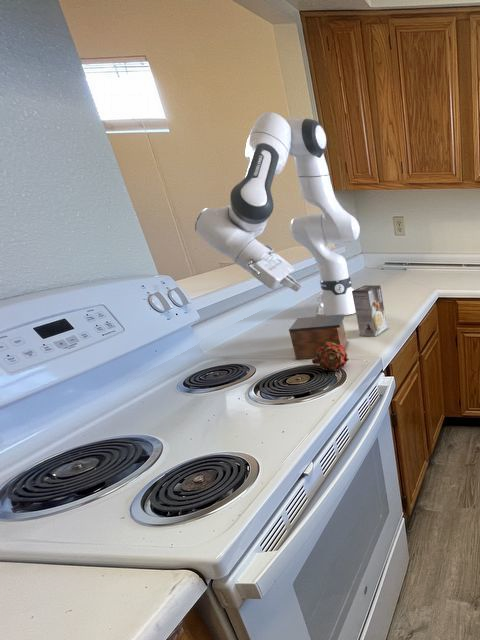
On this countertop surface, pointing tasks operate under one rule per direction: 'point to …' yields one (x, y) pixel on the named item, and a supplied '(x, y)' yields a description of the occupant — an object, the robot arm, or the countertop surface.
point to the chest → (316, 340)
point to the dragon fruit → (331, 357)
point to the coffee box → (369, 310)
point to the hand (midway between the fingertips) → (299, 288)
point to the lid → (317, 323)
